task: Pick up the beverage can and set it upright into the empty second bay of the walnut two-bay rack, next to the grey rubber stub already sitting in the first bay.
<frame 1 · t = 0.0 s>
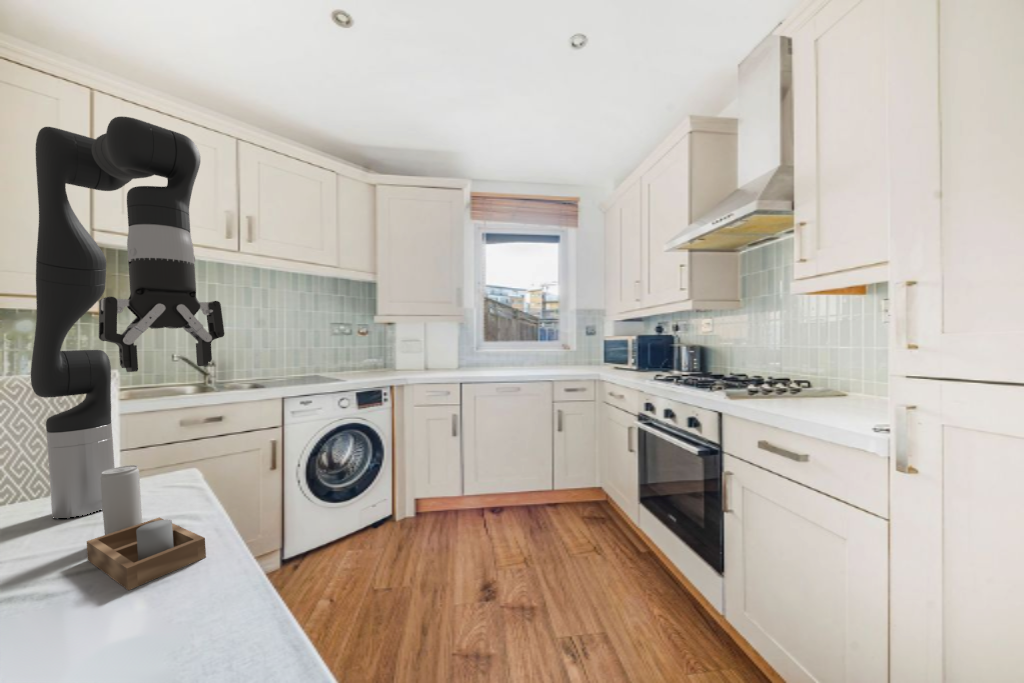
hand: (169, 368, 61), 29 cm above the table, fingers open, 8 cm apart
rack: (146, 558, 62), on the table
beverage can: (124, 539, 70), on the table
stub: (157, 565, 60), resting in rack
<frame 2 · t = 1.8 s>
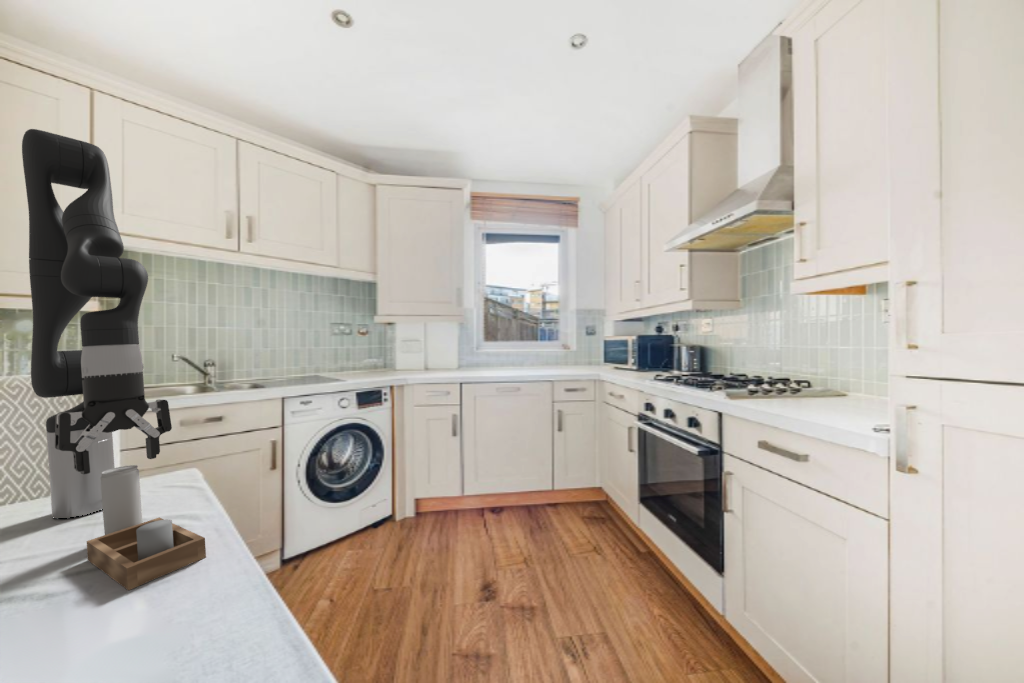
hand: (120, 465, 70), 13 cm above the table, fingers open, 8 cm apart
nothing on the table moved.
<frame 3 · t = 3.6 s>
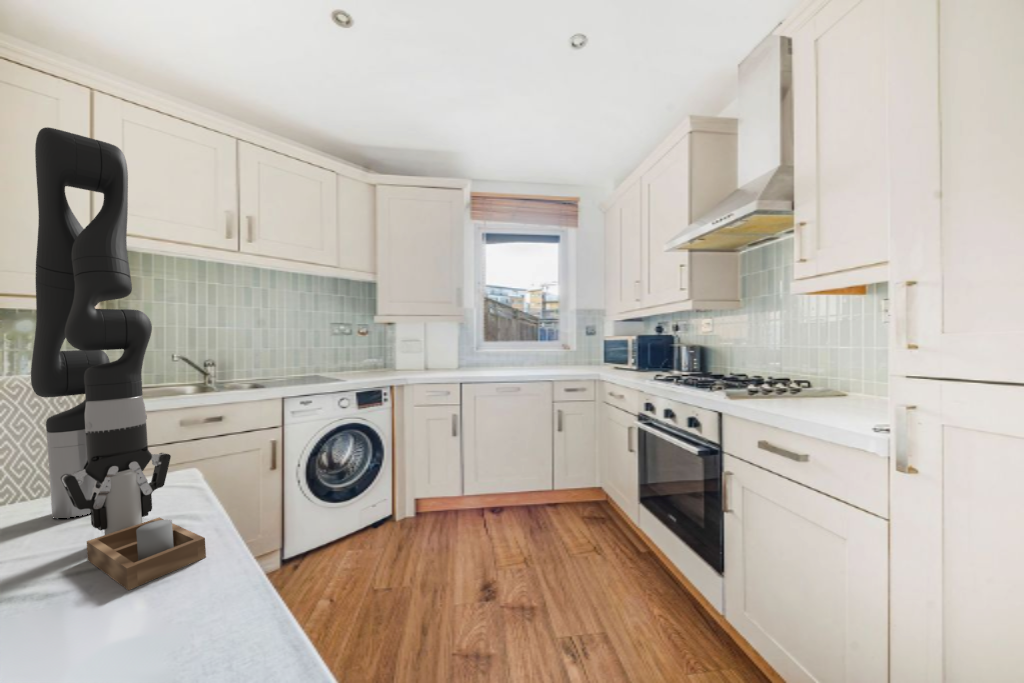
hand: (123, 521, 70), 3 cm above the table, fingers closed on beverage can, 4 cm apart
beverage can: (124, 539, 70), on the table, touching gripper
everything else where it was.
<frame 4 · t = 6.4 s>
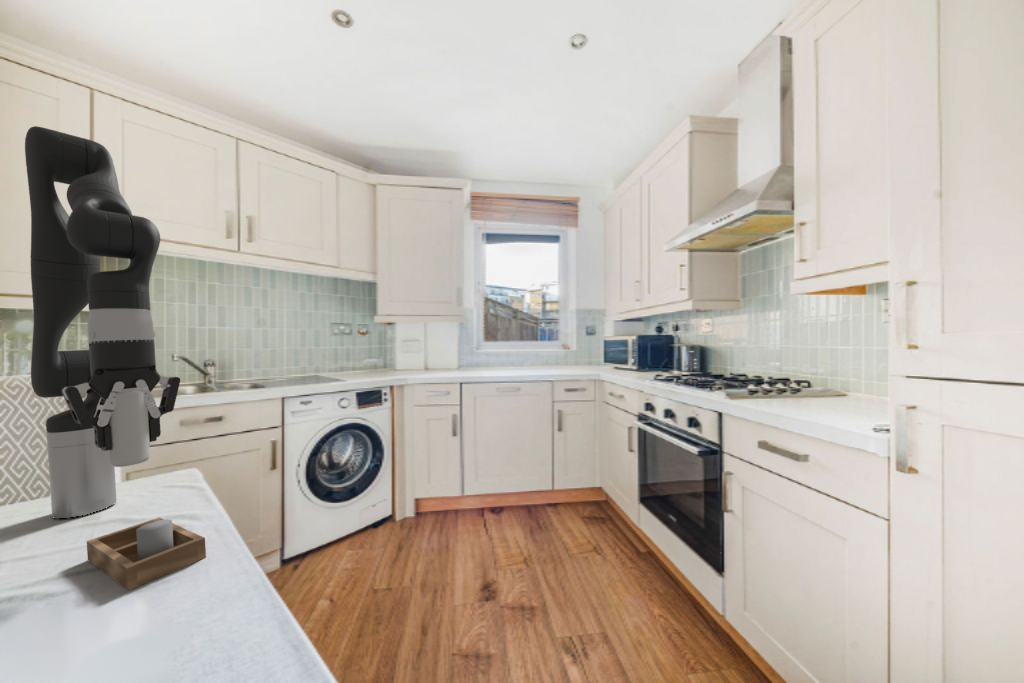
hand: (129, 444, 64), 17 cm above the table, fingers closed on beverage can, 4 cm apart
beverage can: (130, 464, 64), point 14 cm above the table, touching gripper
everything else where it was.
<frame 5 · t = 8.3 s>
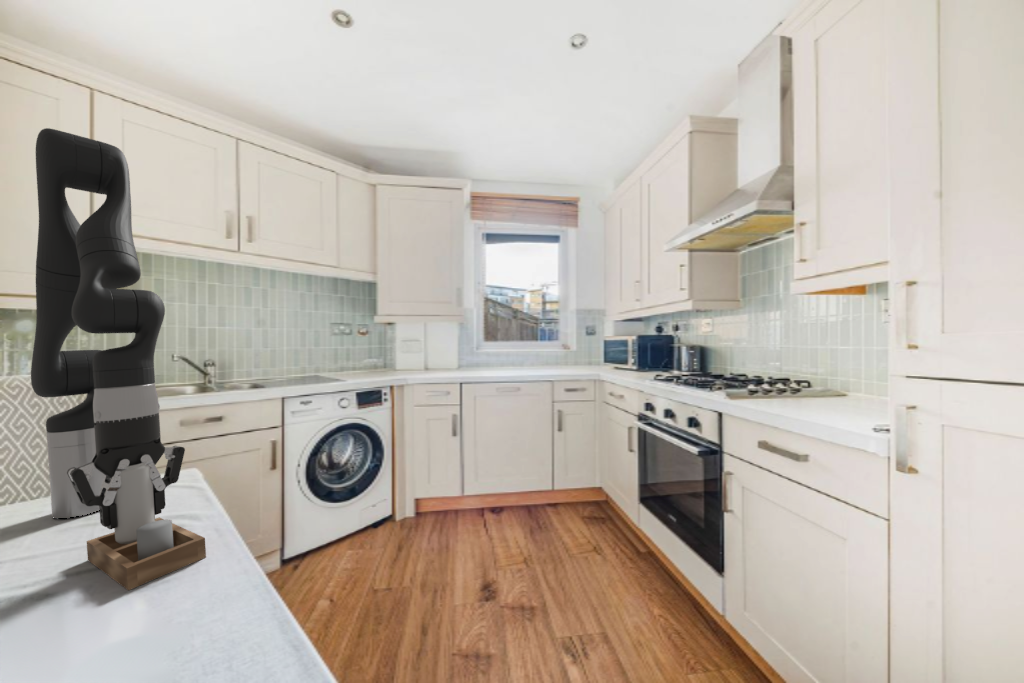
hand: (134, 519, 64), 5 cm above the table, fingers closed on beverage can, 4 cm apart
beverage can: (136, 539, 64), point 2 cm above the table, touching gripper
everything else where it was.
when the fingers open (4 cm above the table, at t = 9.4 s): beverage can drops 2 cm, resting in rack.
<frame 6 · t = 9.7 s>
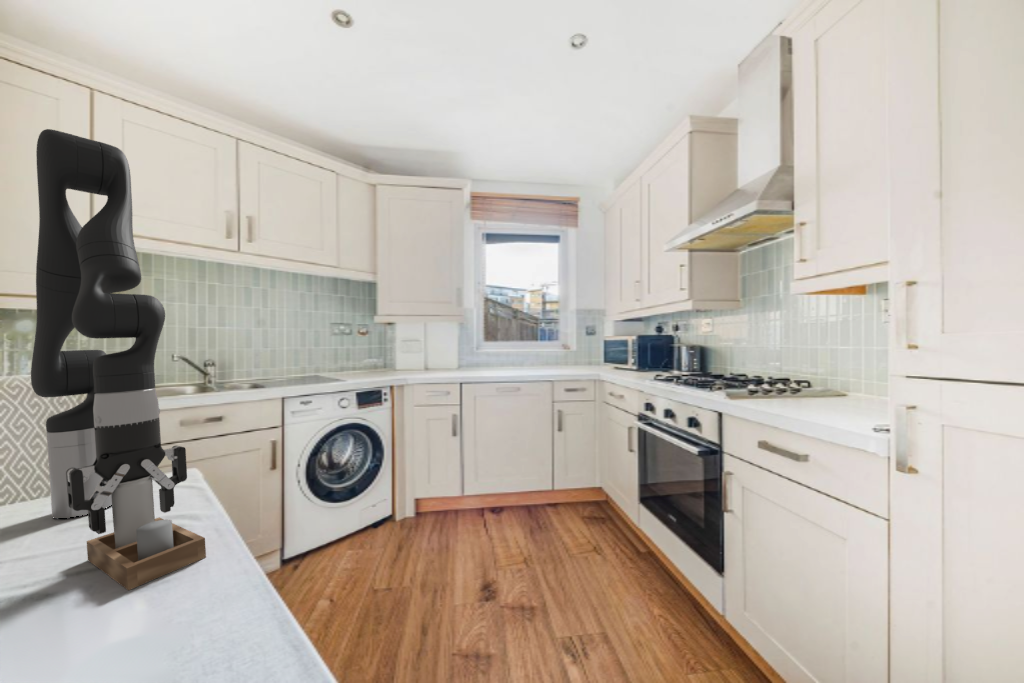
hand: (134, 521, 64), 5 cm above the table, fingers open, 7 cm apart
beverage can: (136, 553, 65), resting in rack
everything else where it was.
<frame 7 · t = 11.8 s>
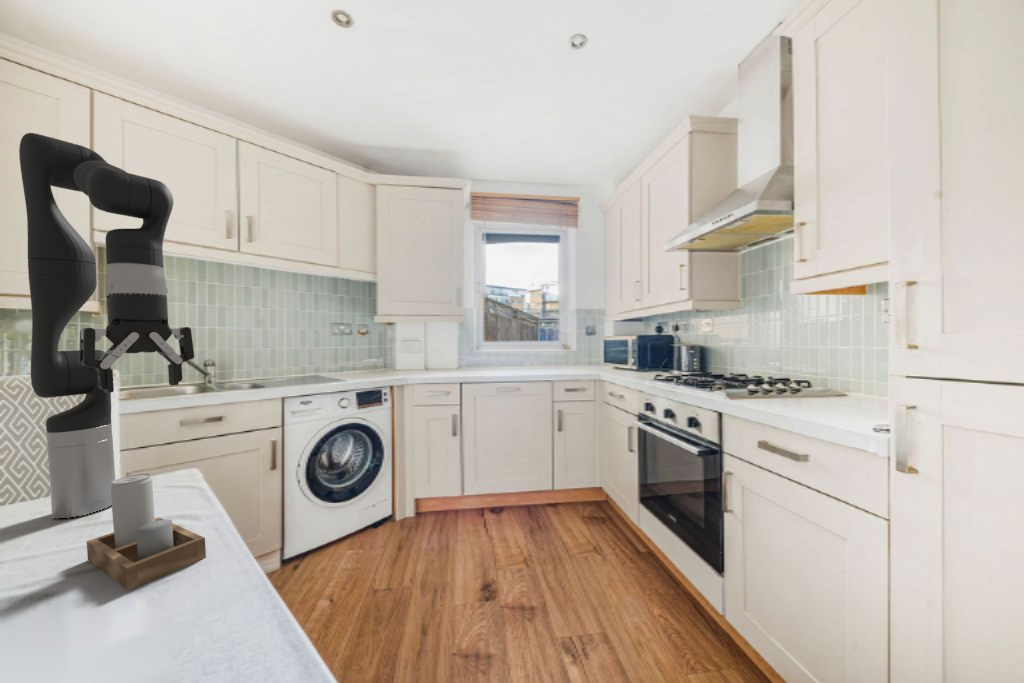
hand: (142, 388, 69), 26 cm above the table, fingers open, 8 cm apart
nothing on the table moved.
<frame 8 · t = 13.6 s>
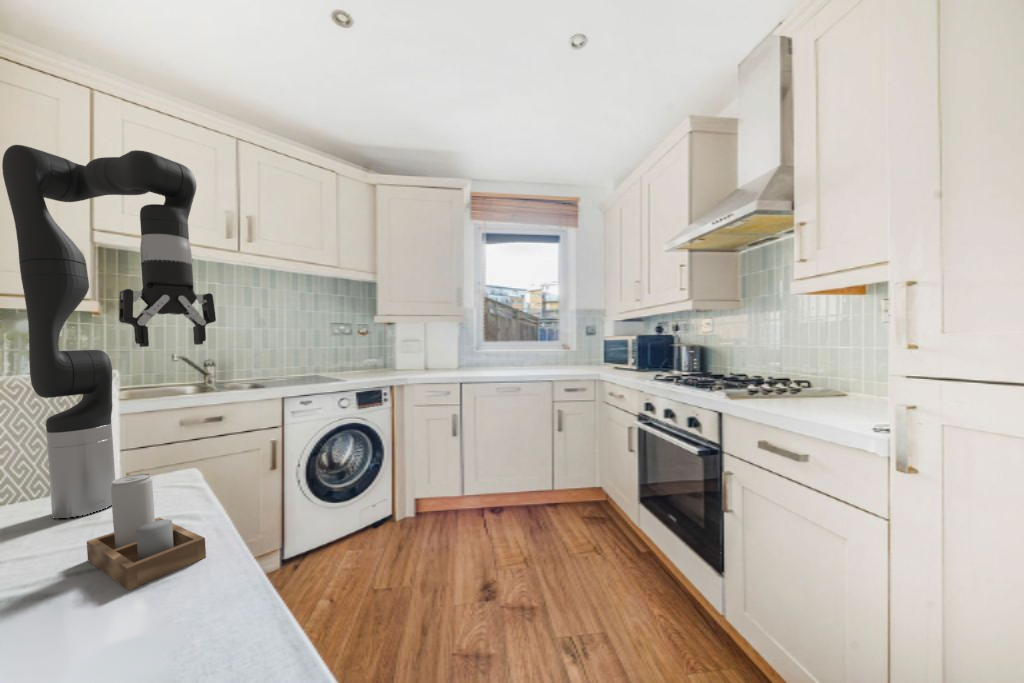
hand: (172, 345, 78), 33 cm above the table, fingers open, 8 cm apart
nothing on the table moved.
at the end: beverage can 0.1 cm from the target spot on the rack, point 0.0 cm above the rack's base; beverage can tilted 0°; the gripper is holding nothing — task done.
